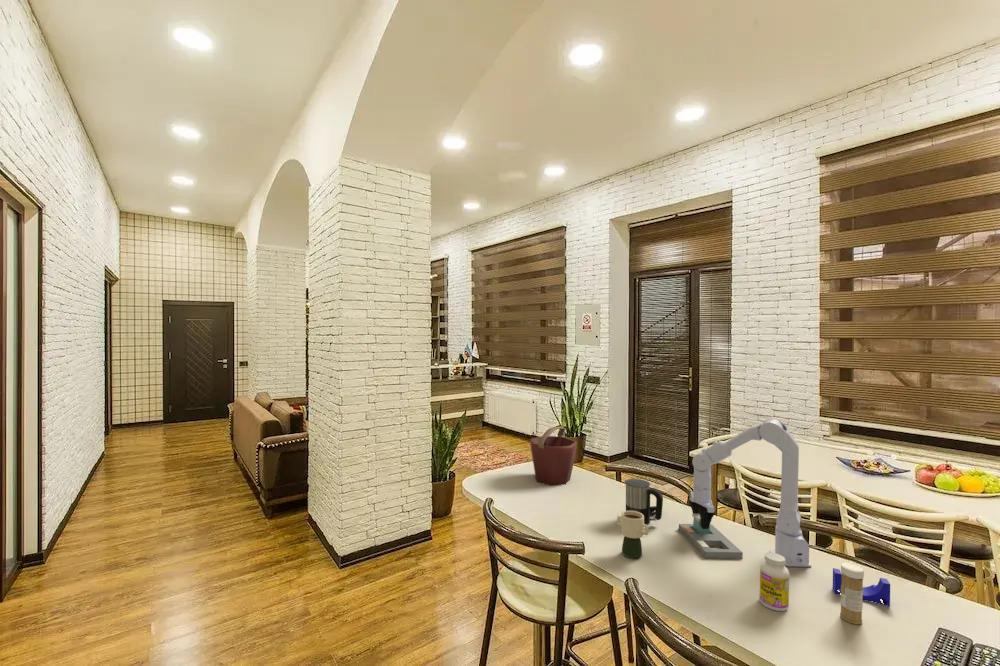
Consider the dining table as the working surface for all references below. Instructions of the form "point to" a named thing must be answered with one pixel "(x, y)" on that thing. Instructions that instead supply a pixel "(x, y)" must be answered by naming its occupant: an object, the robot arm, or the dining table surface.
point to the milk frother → (643, 499)
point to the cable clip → (866, 589)
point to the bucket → (553, 457)
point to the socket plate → (711, 543)
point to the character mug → (632, 532)
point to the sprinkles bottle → (852, 593)
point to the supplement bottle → (774, 582)
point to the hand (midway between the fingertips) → (701, 525)
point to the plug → (699, 525)
